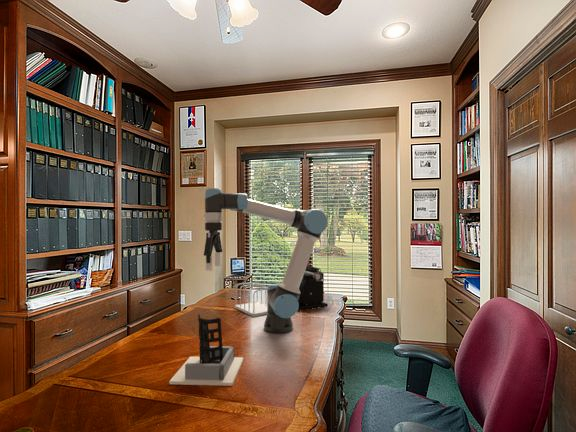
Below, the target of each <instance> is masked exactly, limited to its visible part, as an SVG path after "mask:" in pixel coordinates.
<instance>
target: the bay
mask: <svg viewBox="0 0 576 432" xmlns="http://www.w3.org/2000/svg"><path fill="white" fill-rule="evenodd" d="M218 346H219V345H210V348H213V347H218ZM222 347H223V360H222V361H221V363H220V364H204V363H200V356H189V357H188V358H187V360H186V361H185V362H184V363H183V364H182V366H181V367H179V369H178V370H177V371H176V373H175V374H174V375H173V377H172V378H171V379H170V380H169V381H168V385H186V386H188V385H189V386H224V387H225V386H230V387H231V386H233V385H234V383H235V380H236V378H237V377H238V374H239V372H240V369H241V367H242V364H243V362H244V360H245V359H244V357H243V356H242V357H237V356H236V357H235V346H234V345H233V346H230V345H228V346H227V345H222ZM218 355H220V353H219V350H217V351H215V356H218ZM210 356H211V357H212V354H211V352H210ZM216 361H220V359H218V360H216ZM201 362H202V360H201Z"/></svg>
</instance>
